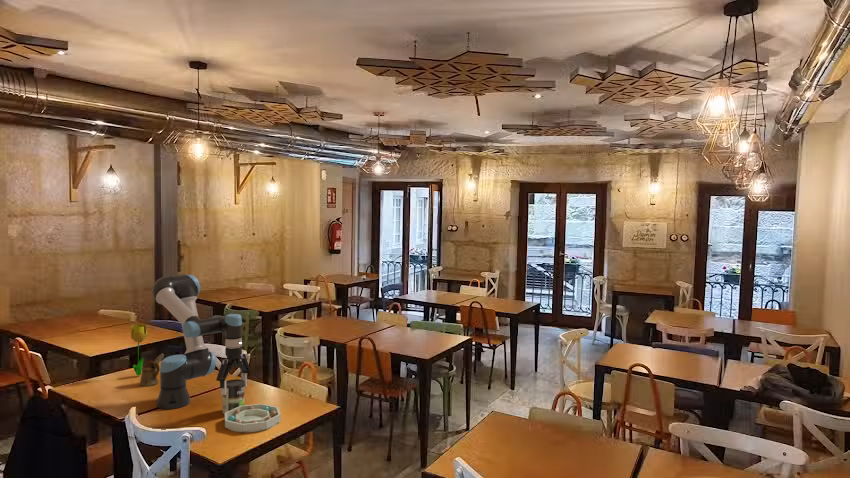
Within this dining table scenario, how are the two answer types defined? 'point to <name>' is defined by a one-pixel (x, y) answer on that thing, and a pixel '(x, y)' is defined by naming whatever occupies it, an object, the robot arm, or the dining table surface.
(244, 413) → the tray
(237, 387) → the coffee can
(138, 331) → the flower
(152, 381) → the wooden mug
